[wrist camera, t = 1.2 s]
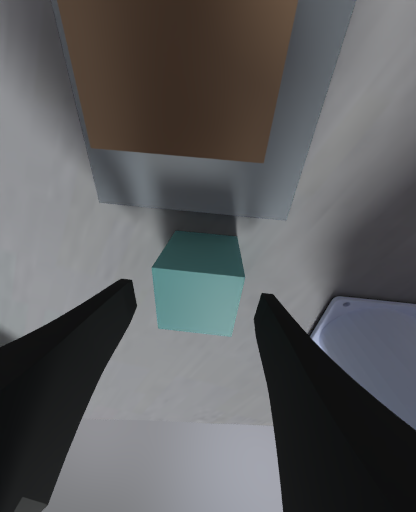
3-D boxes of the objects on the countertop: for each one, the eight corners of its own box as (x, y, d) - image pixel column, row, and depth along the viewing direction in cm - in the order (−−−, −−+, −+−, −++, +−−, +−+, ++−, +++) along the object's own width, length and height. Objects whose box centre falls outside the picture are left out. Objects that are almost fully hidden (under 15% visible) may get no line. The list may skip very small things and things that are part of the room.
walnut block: (279, -25, 6) (352, -258, 3) (247, 161, 9) (263, 163, 6) (118, -35, 6) (-5, -268, 3) (139, 152, 9) (90, 148, 6)
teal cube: (236, 236, 12) (245, 277, 8) (228, 284, 15) (231, 336, 10) (176, 230, 12) (151, 267, 8) (176, 278, 15) (158, 328, 10)
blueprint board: (394, -155, 5) (420, -203, 5) (282, 216, 11) (286, 220, 11) (26, -172, 6) (-2, -219, 5) (106, 200, 12) (99, 202, 11)
